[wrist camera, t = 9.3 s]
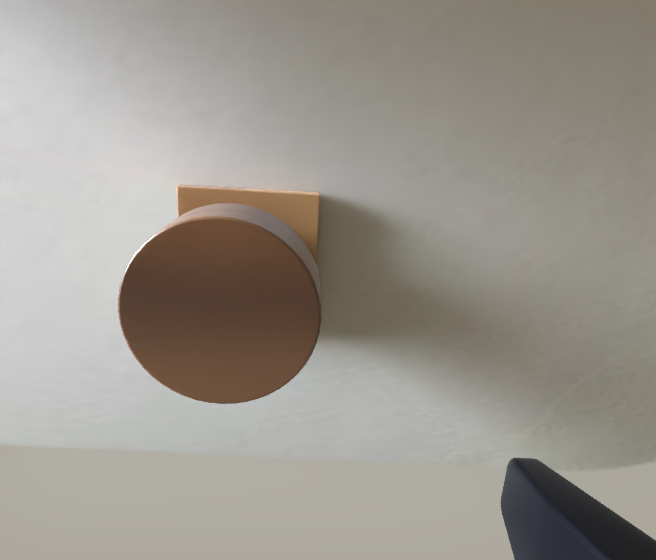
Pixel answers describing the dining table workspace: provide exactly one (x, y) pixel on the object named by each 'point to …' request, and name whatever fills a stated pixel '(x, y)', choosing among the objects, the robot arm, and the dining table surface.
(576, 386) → the dining table surface
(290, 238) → the mushroom
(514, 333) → the dining table surface
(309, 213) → the plate
